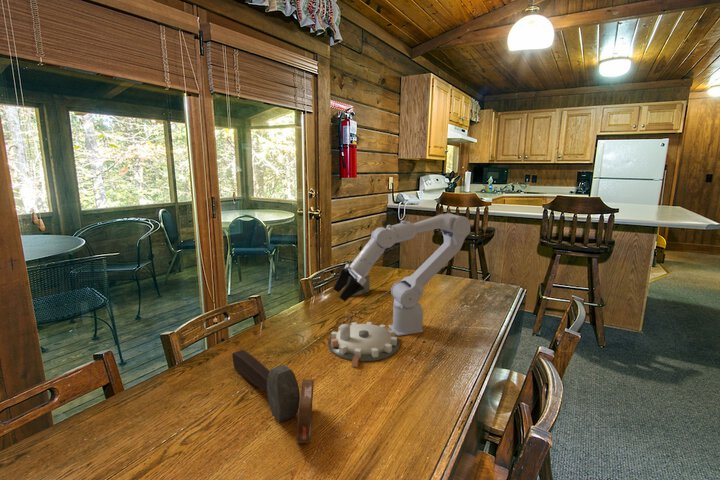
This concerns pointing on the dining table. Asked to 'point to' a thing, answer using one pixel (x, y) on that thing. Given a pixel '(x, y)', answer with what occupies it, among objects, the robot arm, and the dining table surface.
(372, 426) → the dining table surface
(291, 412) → the hammer
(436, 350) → the dining table surface
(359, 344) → the sprocket wheel
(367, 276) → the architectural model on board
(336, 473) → the dining table surface
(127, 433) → the dining table surface
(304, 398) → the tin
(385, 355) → the wheel base
